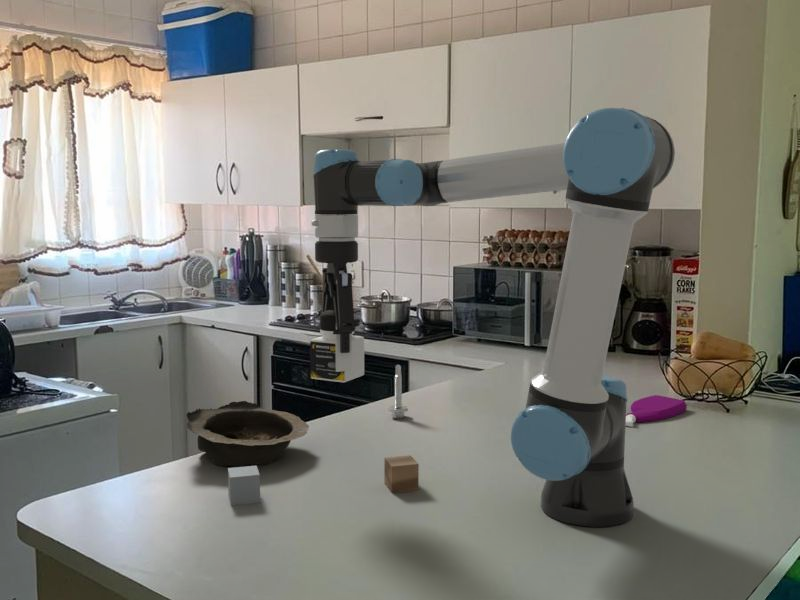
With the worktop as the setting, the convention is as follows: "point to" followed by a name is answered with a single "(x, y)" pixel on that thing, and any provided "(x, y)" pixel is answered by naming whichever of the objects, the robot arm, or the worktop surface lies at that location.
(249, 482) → the slate block
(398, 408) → the screw
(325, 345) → the medicine bottle
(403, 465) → the walnut block
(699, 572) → the worktop surface
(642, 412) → the spray bottle
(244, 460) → the stone bowl
